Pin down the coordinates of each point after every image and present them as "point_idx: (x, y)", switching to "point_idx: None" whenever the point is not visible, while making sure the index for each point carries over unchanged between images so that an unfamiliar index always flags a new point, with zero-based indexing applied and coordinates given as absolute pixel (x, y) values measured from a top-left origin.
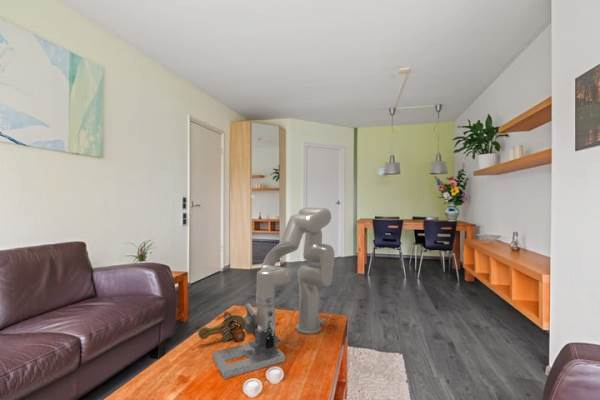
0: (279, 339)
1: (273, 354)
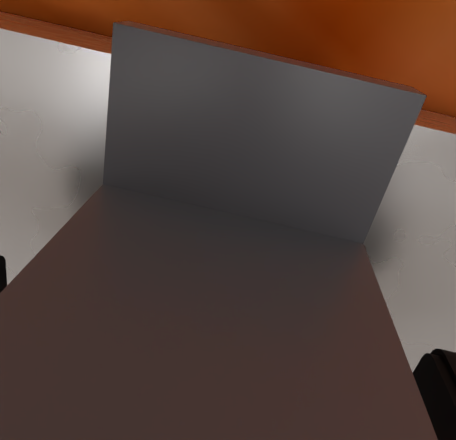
0: (380, 105)
1: (431, 279)
